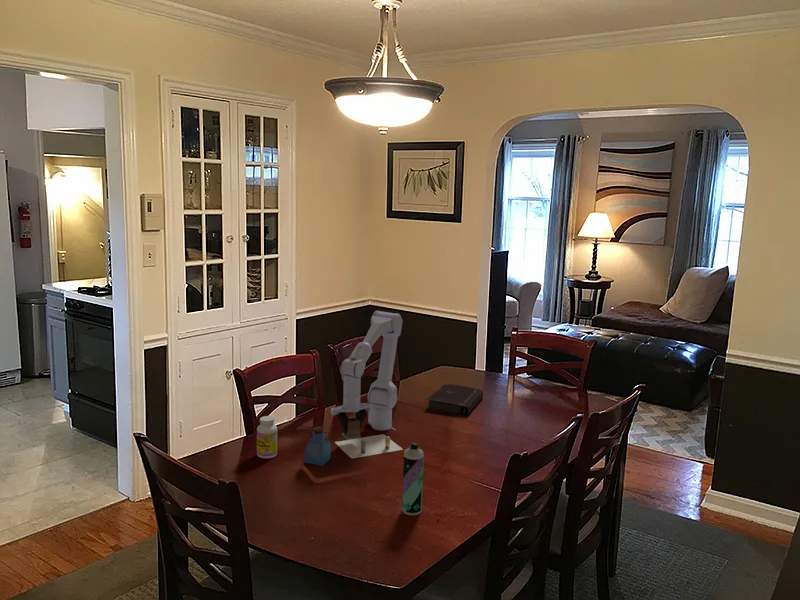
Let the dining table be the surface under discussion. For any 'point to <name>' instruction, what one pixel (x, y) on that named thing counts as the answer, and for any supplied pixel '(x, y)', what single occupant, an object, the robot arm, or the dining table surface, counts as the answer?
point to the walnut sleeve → (352, 428)
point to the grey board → (367, 446)
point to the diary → (454, 399)
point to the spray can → (412, 480)
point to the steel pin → (363, 446)
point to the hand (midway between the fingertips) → (351, 432)
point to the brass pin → (387, 442)
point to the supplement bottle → (267, 438)
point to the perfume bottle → (318, 448)
